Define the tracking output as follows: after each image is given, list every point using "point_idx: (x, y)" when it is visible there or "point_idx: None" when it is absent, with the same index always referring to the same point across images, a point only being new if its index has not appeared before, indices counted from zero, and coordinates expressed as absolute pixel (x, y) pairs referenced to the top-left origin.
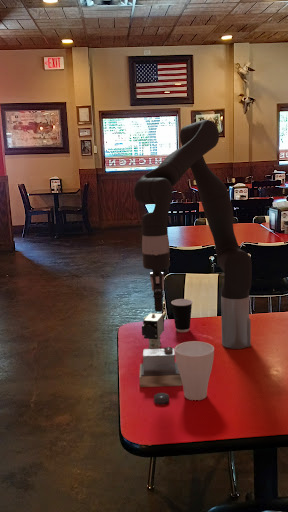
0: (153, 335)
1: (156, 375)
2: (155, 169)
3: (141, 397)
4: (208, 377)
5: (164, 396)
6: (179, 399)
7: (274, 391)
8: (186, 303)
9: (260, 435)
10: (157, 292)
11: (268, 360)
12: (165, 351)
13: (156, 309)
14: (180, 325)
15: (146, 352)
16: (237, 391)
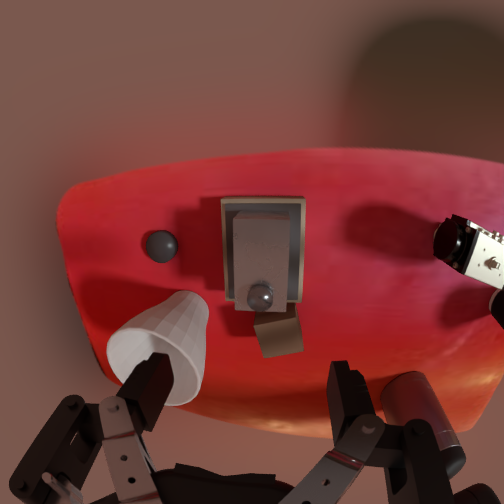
0: (434, 248)
1: (226, 242)
2: None
3: (177, 202)
4: (162, 352)
5: (160, 254)
6: (171, 279)
7: (209, 410)
8: None
9: (99, 360)
10: (336, 419)
11: (321, 424)
12: (251, 289)
13: (140, 362)
14: (498, 303)
15: (261, 229)
16: (207, 372)
